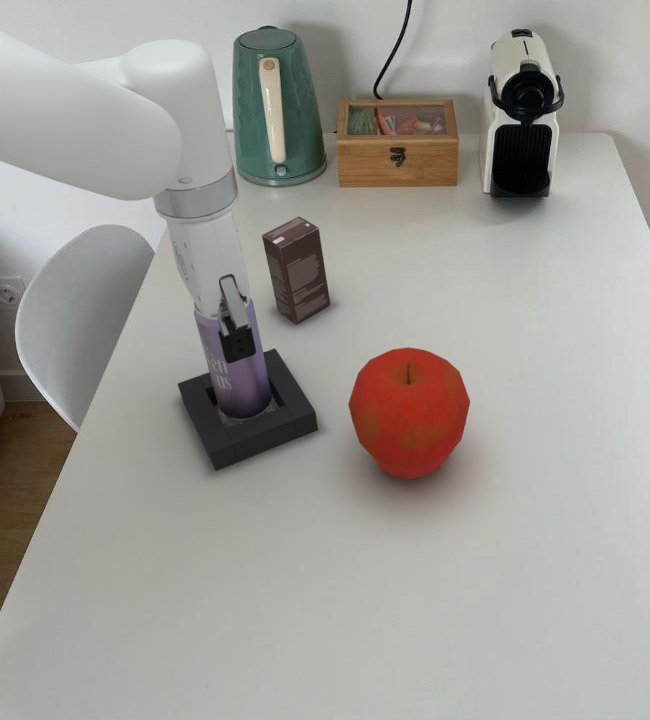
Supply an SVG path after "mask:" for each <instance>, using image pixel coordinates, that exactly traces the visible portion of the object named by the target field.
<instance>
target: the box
mask: <svg viewBox="0 0 650 720" xmlns="http://www.w3.org/2000/svg"><path fill="white" fill-rule="evenodd" d="M261 239H262V243H263V247H264V252H265V257H266V261H267V265H268V269H269V270H268V271H269V275H270V280H271V285H272V289H273V295H274V298H275V304H276V309H277V311H278V312H279V313H280V314H282V315H283V316H284V317H286V318H287V319H288V320H290V321H291V322H292V323H294V324H298V323H300V322H301V321H303V320H305V319H307V318H308V317H310V316H312V315H313V314H315V313H317V312H319V311H321V310H322V309H324V308H326V307H328V306H329V305H331V298H330V293H329V292H330V291H329V287H328V286H329V285H328V280H327V274H326V273H327V272H326V266H325V260H324V253H323V246H322V242H321V241H322V240H321V234H320V228H319V226H317V225H315V224H313V223H311V222H309V221H308V220H307V219H305V218H303V217H302V216H297V217H294V218H293V219H291V220H289V221H287V222H285V223H283V224H280V225H279V226H277V227H275V228H273V229H271V230H268V231H267V232H265V233H263V234H261Z"/></svg>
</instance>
